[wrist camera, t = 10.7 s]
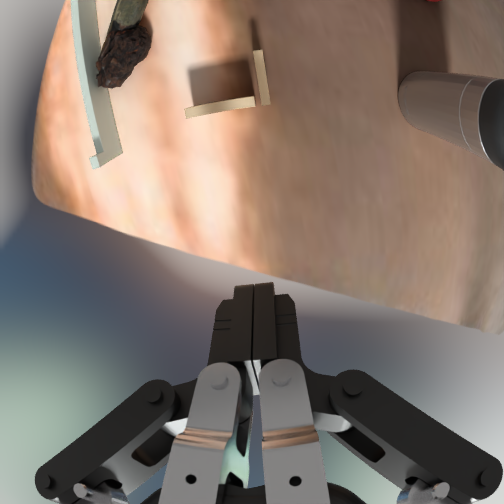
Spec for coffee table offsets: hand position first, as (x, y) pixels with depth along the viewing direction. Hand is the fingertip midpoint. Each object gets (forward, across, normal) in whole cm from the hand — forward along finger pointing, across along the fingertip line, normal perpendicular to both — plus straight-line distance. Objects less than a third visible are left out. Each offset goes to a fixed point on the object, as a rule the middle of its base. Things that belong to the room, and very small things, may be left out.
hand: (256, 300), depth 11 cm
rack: (+29, +20, -17) cm, 39 cm away
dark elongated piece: (+30, +14, -21) cm, 39 cm away
